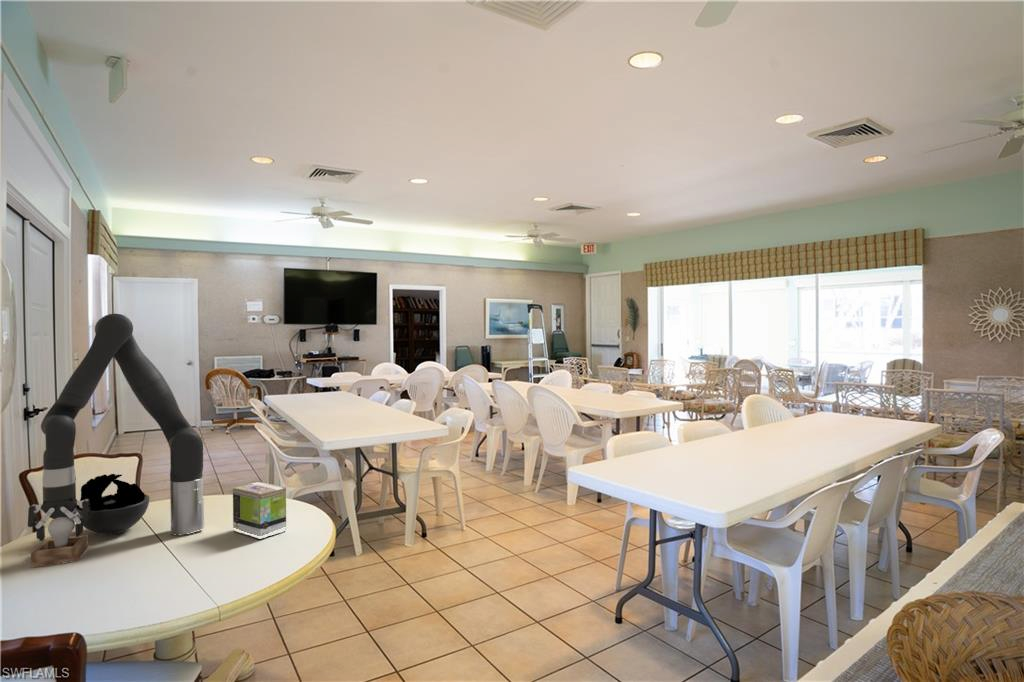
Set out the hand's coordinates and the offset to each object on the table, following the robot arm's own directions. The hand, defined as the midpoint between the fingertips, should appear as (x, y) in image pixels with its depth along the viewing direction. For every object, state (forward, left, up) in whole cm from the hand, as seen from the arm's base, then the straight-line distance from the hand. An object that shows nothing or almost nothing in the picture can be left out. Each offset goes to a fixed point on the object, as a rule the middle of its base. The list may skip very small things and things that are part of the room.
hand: (60, 538), depth 165 cm
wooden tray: (0, 0, -6) cm, 6 cm away
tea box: (-53, 0, -6) cm, 53 cm away
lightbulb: (0, 0, -5) cm, 5 cm away
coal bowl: (-9, -18, -6) cm, 21 cm away
